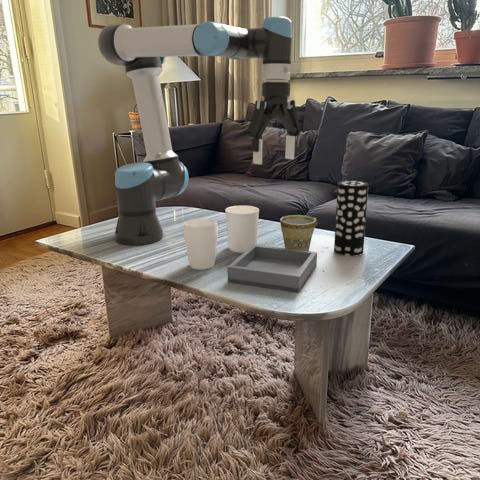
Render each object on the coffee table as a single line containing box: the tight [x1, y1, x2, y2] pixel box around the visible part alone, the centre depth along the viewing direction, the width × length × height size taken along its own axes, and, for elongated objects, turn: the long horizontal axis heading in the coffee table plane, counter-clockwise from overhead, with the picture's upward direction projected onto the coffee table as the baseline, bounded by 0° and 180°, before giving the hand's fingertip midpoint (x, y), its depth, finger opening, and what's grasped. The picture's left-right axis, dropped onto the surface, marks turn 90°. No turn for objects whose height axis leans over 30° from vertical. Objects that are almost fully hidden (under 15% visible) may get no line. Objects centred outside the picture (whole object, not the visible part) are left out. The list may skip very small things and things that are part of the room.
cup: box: [183, 217, 219, 271], centre depth 121 cm, size 9×9×12 cm
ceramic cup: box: [279, 214, 318, 251], centre depth 131 cm, size 13×10×10 cm
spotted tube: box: [333, 180, 369, 257], centre depth 129 cm, size 8×8×20 cm
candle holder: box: [224, 205, 260, 254], centre depth 134 cm, size 10×10×12 cm
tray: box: [227, 244, 318, 293], centre depth 116 cm, size 18×18×4 cm
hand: (274, 161), depth 128 cm, fingers open, 13 cm apart
